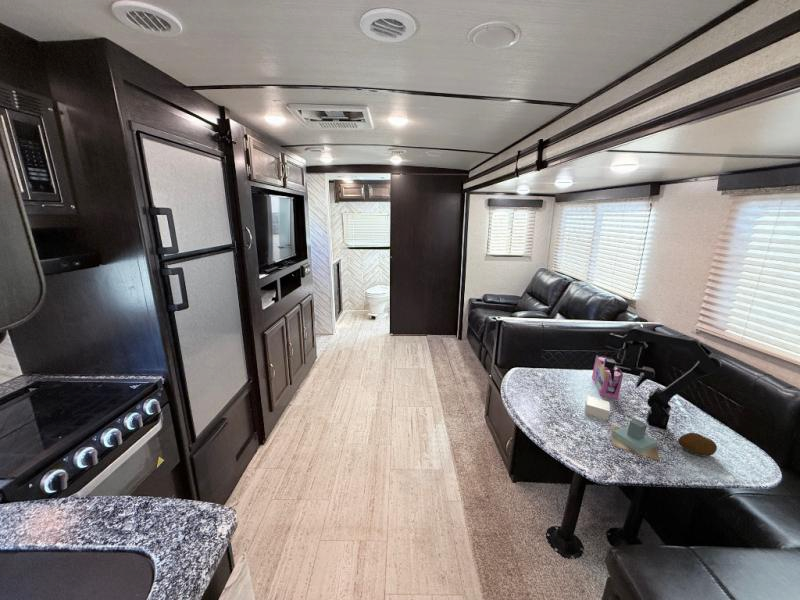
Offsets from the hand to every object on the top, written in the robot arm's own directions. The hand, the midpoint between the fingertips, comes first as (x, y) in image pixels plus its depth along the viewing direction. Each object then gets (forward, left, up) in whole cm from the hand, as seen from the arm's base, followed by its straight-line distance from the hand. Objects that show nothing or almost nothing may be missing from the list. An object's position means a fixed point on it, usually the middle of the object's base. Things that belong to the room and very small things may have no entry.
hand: (624, 384), depth 145 cm
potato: (-24, +18, -13) cm, 33 cm away
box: (+9, +9, -13) cm, 18 cm away
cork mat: (-4, +25, -13) cm, 29 cm away
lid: (-4, +25, -13) cm, 28 cm away
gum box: (+6, -21, -13) cm, 25 cm away
